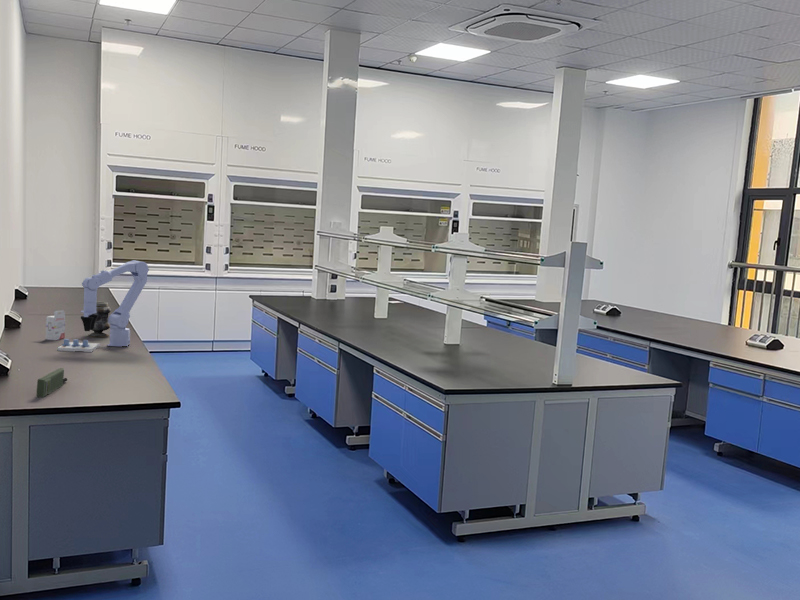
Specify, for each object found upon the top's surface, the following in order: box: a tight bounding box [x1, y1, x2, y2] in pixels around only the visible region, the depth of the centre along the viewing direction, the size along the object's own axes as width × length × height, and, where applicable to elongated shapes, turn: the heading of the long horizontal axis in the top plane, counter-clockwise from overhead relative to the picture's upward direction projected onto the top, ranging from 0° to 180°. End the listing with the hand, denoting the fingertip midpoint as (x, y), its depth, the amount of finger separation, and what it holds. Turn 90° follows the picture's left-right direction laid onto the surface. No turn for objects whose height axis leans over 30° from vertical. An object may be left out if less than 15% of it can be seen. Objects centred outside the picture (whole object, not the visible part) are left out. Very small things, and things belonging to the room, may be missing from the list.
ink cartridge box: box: [45, 309, 66, 341], centre depth 367 cm, size 9×5×15 cm, turn 168°
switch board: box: [57, 341, 101, 353], centre depth 347 cm, size 15×16×2 cm
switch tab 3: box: [81, 339, 90, 347], centre depth 346 cm, size 3×3×3 cm
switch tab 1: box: [61, 338, 71, 346], centre depth 345 cm, size 3×3×3 cm
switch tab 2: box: [72, 338, 80, 346], centre depth 346 cm, size 3×3×3 cm
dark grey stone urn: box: [87, 301, 112, 338], centre depth 385 cm, size 12×12×18 cm
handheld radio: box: [35, 367, 68, 398], centre depth 266 cm, size 7×3×25 cm
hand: (89, 330), depth 352 cm, fingers open, 6 cm apart
